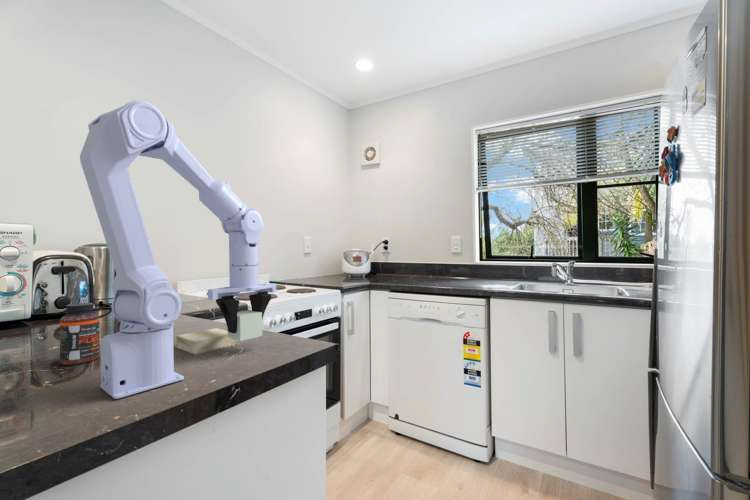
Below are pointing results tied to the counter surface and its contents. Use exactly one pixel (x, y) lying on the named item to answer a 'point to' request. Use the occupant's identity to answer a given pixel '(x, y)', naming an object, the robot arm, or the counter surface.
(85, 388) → the counter surface
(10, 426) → the counter surface
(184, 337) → the maple slab
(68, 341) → the supplement bottle
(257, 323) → the sage cube
